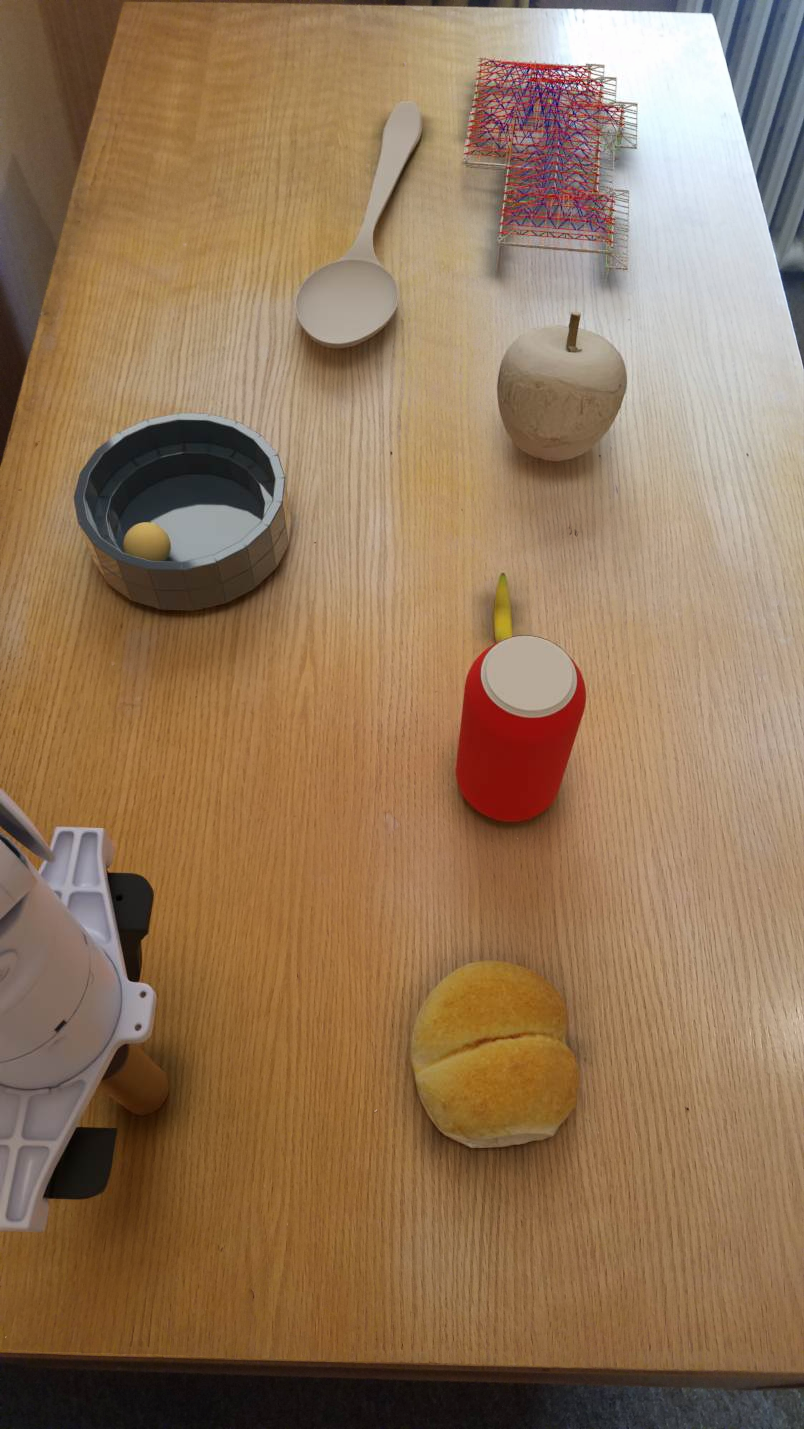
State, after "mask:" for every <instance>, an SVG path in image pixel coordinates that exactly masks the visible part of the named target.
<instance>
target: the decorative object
mask: <svg viewBox="0 0 804 1429" xmlns="http://www.w3.org/2000/svg"><path fill="white" fill-rule="evenodd" d="M581 315H582V314H581V313H580V311H572V312H571V313H570V316H569V317H570V318H569V324H568V325H545V326H538V327H535V328H531V329H529V330H527V331H525V332H523V333H521V334H520V335H519V336H518V337H517V338H515V340H514V341H512V342H511V344H510V345H509V347H508V348H507V349H506V351H505V353H504V354H503V357H502V358H501V362H500V366H499V371H498V377H497V385H496V395H497V396H496V397H497V404H498V409H499V414H500V418H501V421H502V425H503V427H504V429H505V431H506V433H507V434H508V436H509V437H510V439H511V440H512V441H513V443H514V444H515V445H516V446H517V447H518V448H519V449H520V450H521V451H523V452H524V453H525V454H527V455H529V456H531V457H534V458H539V459H543V460H545V461H550V462H560V461H561V462H563V461H567V460H571V459H575V458H577V457H579V456H582V455H583V454H585V453H586V452H588V451H589V450H591V449H592V448H593V447H595V445H596V444H598V443H599V442H600V441H601V439H603V437H604V436H606V433H607V432H608V431H609V430H610V428H611V427H612V425H613V423H614V422H615V420H616V418H617V416H618V414H619V413H620V409H621V408H622V404H623V400H624V398H625V395H626V391H627V389H628V387H627V386H628V374H627V369H626V364H625V361H624V359H623V357H622V354H621V353H620V351H619V350H618V349H617V348H616V347H615V346H614V344H612V343H611V342H610V341H609V340H608V339H607V338H605V337H604V336H602V335H600V334H598V333H596V332H593V331H591V330H587V329H585V328H580V327H579V326H580V321H581Z"/></svg>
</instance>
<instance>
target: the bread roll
mask: <svg viewBox="0 0 804 1429" xmlns="http://www.w3.org/2000/svg"><path fill="white" fill-rule="evenodd" d="M568 1019H569V1016H568V1011H567V1008H566V1005H565V1001H564V999H563V997H562V995H561V994H560V993H559V992H558V990H557V989H556V988H555V987H554V986H553V985H552V984H551V983H549V982H548V981H547V980H546V979H544V977H543V976H541V975H540V974H539V973H537V972H535V971H533V970H531V969H529V968H528V967H526V966H521V965H518V964H515V963H511V962H507V961H501V960H481V961H473V962H470V963H467V964H466V963H465V964H464V965H462V966H460V967H458V968H457V969H455V970H453V971H452V972H450V973H449V974H448V975H446V976H445V977H444V978H443V979H442V980H440V981H439V983H438V984H436V986H434V988H433V989H432V990H431V992H430V993H429V994H428V996H427V997H426V999H425V1000H424V1002H423V1003H422V1006H421V1007H420V1009H419V1011H418V1013H417V1015H416V1019H415V1021H414V1025H413V1027H412V1032H411V1037H410V1044H409V1045H410V1046H409V1047H410V1048H409V1055H410V1063H411V1066H412V1067H411V1068H412V1070H413V1074H414V1081H415V1085H416V1090H417V1095H418V1097H419V1100H420V1103H421V1105H422V1107H423V1108H424V1110H425V1112H426V1114H427V1116H428V1117H429V1119H430V1120H431V1122H432V1123H433V1124H434V1126H435V1127H436V1128H437V1129H438V1131H439V1132H440V1133H442V1134H443V1135H444V1136H445V1137H448V1138H449V1139H452V1140H453V1141H455V1142H458V1143H459V1144H463V1145H464V1146H466V1147H468V1148H471V1149H476V1148H477V1149H483V1148H485V1149H486V1148H503V1147H510V1146H513V1145H518V1146H519V1145H523V1144H527V1143H529V1142H535V1141H543V1140H546V1139H549V1138H552V1137H554V1136H555V1135H556V1132H557V1131H558V1129H559V1127H560V1125H561V1124H562V1123H564V1122H565V1121H566V1120H567V1118H568V1117H569V1116H570V1114H571V1113H572V1112H573V1110H574V1108H575V1106H576V1104H577V1098H578V1094H579V1087H580V1072H579V1066H578V1063H577V1060H576V1057H575V1054H574V1052H572V1050H571V1049H570V1047H569V1046H568V1045H567V1042H566V1032H567V1030H568V1021H569V1020H568Z"/></svg>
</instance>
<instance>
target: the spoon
mask: <svg viewBox="0 0 804 1429" xmlns="http://www.w3.org/2000/svg"><path fill="white" fill-rule="evenodd" d="M421 115H422V114H421V111H420V107H419V105H418V104H417V102H415V101H411V100H402V101H399V102H398V103H397V104H396V105H395V106H394V108H393V110H392V111H391V113H390V115H389V117H388V118H387V121H386V123H385V126H384V128H383V131H382V136H381V137H382V138H381V149H380V150H381V151H380V155H379V160H378V164H377V167H376V171H375V176H374V179H373V182H372V187H371V190H370V194H369V198H368V202H367V207H366V211H365V214H364V218H363V221H362V224H361V226H360V229H359V232H358V234H357V236H356V238H355V240H354V242H353V243H352V245H351V246H350V247H349V249H348V250H347V251H346V252H345V253H344V254H343V255H342V256H341V257H340V258H338V259H336V260H335V261H332V262H329V263H327V264H324V265H322V266H321V267H319V268H316V269H315V270H314V271H313V272H311V273H309V275H307V277H306V278H305V279H304V280H303V282H302V283H301V284H300V286H299V288H298V290H297V292H296V295H295V299H294V311H295V315H296V317H297V320H298V322H299V323H300V326H301V328H302V330H303V331H304V332H305V333H306V335H307V336H309V337H310V339H312V340H313V341H314V342H316V343H317V344H319V345H321V346H324V347H326V348H332V349H344V348H345V349H346V348H350V347H354V346H356V345H359V344H361V343H364V342H366V341H368V340H369V339H371V338H372V337H374V336H375V335H376V334H378V333H379V332H380V331H382V330H383V328H384V327H385V326H386V325H387V324H388V323H389V322H390V320H391V319H392V317H393V316H394V314H395V312H396V310H397V306H398V302H399V295H400V294H399V293H400V292H399V285H398V283H397V280H396V279H395V277H394V275H393V274H392V273H391V272H390V271H389V270H388V269H387V268H386V267H384V266H383V265H382V264H381V262H380V261H379V259H378V257H377V255H376V252H375V249H374V248H375V247H374V241H373V240H374V238H373V237H374V232H375V230H376V227H377V224H378V222H379V220H380V218H381V216H382V214H383V212H384V210H385V208H386V206H387V204H388V202H389V200H390V198H391V195H392V194H393V191H394V189H395V187H396V185H397V183H398V180H399V178H400V177H401V174H402V172H403V170H404V168H405V165H406V164H407V163H408V160H409V159H410V157H411V154H412V153H413V152H414V150H415V148H416V146H417V145H418V143H419V141H420V139H421V137H422V134H423V119H422V116H421Z"/></svg>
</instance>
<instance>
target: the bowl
mask: <svg viewBox="0 0 804 1429" xmlns="http://www.w3.org/2000/svg"><path fill="white" fill-rule="evenodd" d="M79 472H80V473H78V478H77V482H76V485H75V490H74V494H73V502H74V503H73V504H74V510H75V514H76V520H77V524H78V526H79V529H80V531H81V534H82V536H83V537H84V541H85V543H86V546H87V548H88V551H89V553H90V556H91V558H92V561H93V563H94V565H95V567H96V568H97V569H98V571H99V573H100V574H101V576H102V577H103V579H104V581H106V583H107V584H108V585H109V586H110V587H111V588H113V589H114V590H116V591H117V592H118V593H119V594H121V595H123V596H124V597H126V598H127V599H128V600H130V601H132V602H135V603H138V604H141V605H145V606H149V607H151V608H155V609H157V610H162V611H199V610H202V609H207V608H212V607H215V606H219V605H225V604H229V603H230V602H231V601H233V600H236V599H237V598H239V597H241V596H243V595H245V594H247V593H248V592H250V591H253V590H255V588H257V587H258V586H259V585H261V583H263V581H264V580H265V579H266V578H268V576H270V575H271V574H272V573H273V571H275V570H276V568H277V567H278V565H279V563H280V562H281V560H282V558H283V556H284V554H285V552H286V550H287V548H288V546H289V544H290V534H291V525H292V516H291V509H290V501H289V496H288V495H289V494H288V486H287V480H286V476H285V472H284V469H283V466H282V462H281V459H280V456H279V454H278V453H277V451H276V450H275V449H274V448H273V447H272V446H271V445H270V443H269V442H268V441H267V440H266V438H265V437H264V436H263V435H261V434H260V433H258V432H256V431H255V430H253V429H251V428H250V427H248V426H246V425H245V424H243V423H242V422H240V421H238V420H234V419H230V418H227V417H222V416H219V415H215V414H211V413H199V412H198V413H197V412H196V413H195V412H194V413H193V412H178V413H171V414H166V415H162V416H157V417H152V418H148V419H145V420H142V421H140V422H138V423H135V424H133V425H131V426H129V427H126V428H125V429H122V430H120V431H118V432H116V433H115V434H114V435H112V436H111V437H110V438H109V439H108V440H106V441H104V442H103V444H102V445H100V446H99V447H98V448H96V449H95V451H94V452H93V453H92V455H91V456H90V458H89V459H88V460H87V462H86V464H85V465H84V466H83V467H82V469H81V471H79ZM144 522H148V523H153V524H156V525H158V526H160V527H161V528H162V529H163V530H164V531H165V532H166V533H167V535H168V537H169V539H170V543H171V550H170V554H169V556H168V558H167V560H166V561H150V560H146V559H143V558H139V557H136V556H133V555H129V554H126V553H125V552H124V546H123V543H124V538H125V535H126V533H127V532H128V531H129V529H130V528H132V527H133V526H134V525H136V524H139V523H144Z"/></svg>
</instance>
